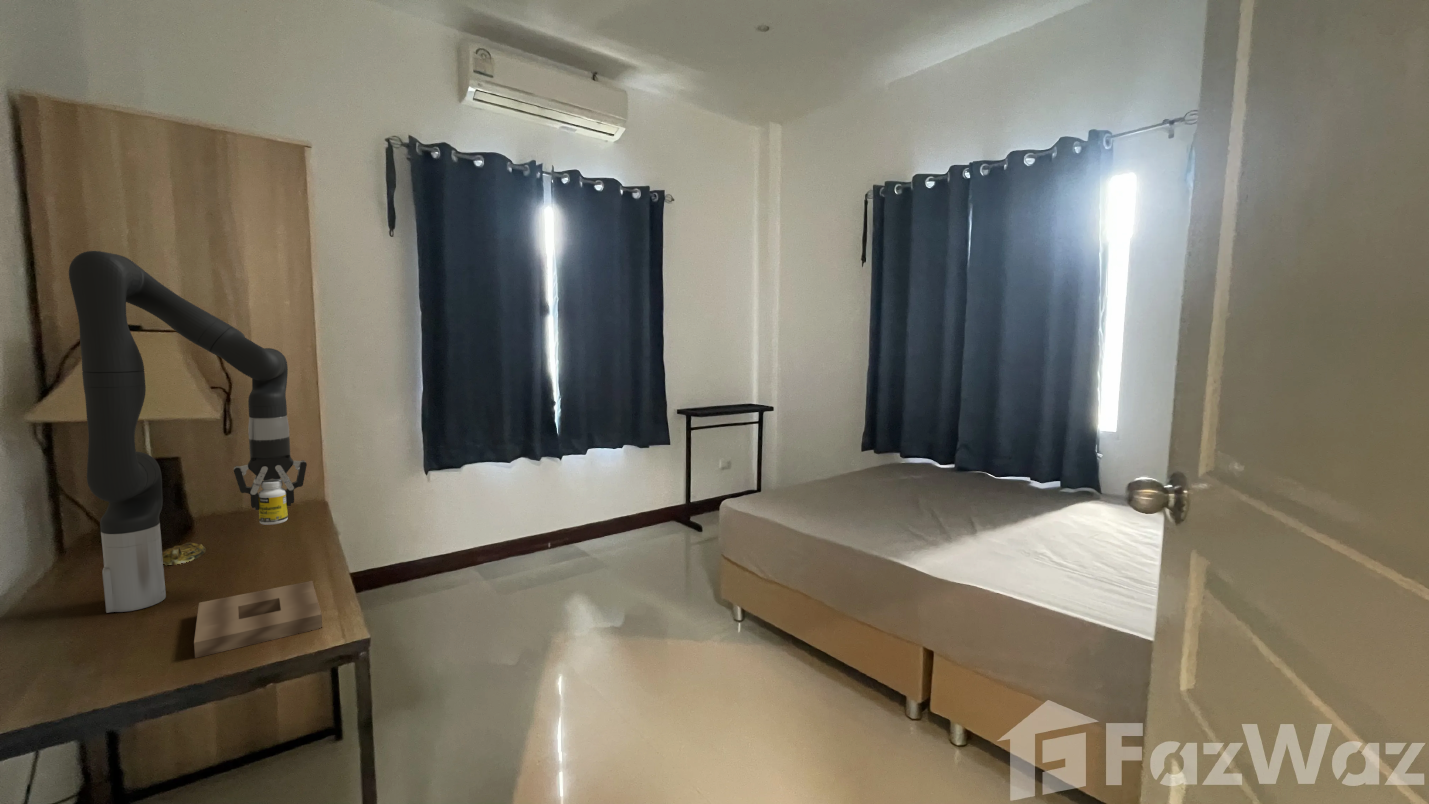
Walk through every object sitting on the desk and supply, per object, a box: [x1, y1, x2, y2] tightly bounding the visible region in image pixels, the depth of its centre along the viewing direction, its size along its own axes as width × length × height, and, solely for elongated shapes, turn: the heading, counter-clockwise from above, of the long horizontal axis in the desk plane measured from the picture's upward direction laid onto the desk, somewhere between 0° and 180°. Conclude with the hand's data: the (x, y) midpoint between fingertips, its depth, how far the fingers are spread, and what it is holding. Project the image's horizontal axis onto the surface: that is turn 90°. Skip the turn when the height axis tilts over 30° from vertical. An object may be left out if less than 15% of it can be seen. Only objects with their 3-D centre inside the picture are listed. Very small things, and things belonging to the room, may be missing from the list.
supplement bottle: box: [258, 478, 289, 526], centre depth 141 cm, size 5×5×10 cm
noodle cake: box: [162, 542, 206, 566], centre depth 160 cm, size 9×5×15 cm
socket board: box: [193, 580, 323, 659], centre depth 127 cm, size 20×20×3 cm
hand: (273, 506), depth 141 cm, fingers closed on supplement bottle, 5 cm apart
